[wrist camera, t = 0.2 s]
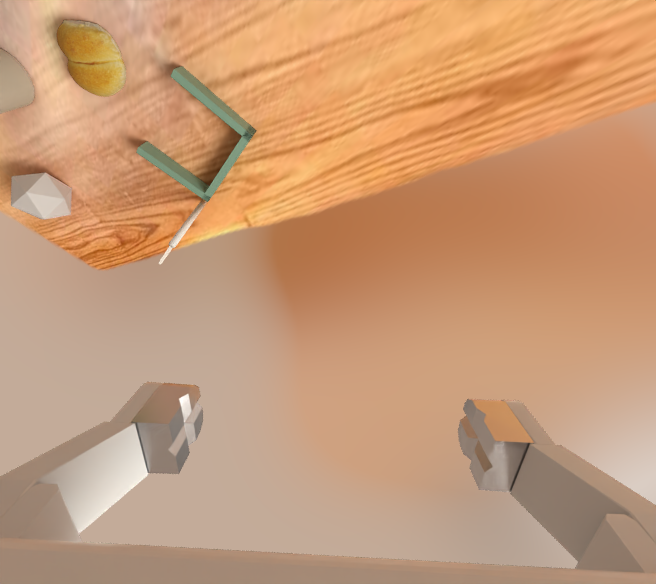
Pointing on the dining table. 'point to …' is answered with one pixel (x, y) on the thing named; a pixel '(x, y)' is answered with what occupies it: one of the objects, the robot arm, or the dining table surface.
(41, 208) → the die
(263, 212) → the dining table surface
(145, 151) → the green pocket
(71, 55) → the bread roll
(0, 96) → the travel mug
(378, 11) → the dining table surface
